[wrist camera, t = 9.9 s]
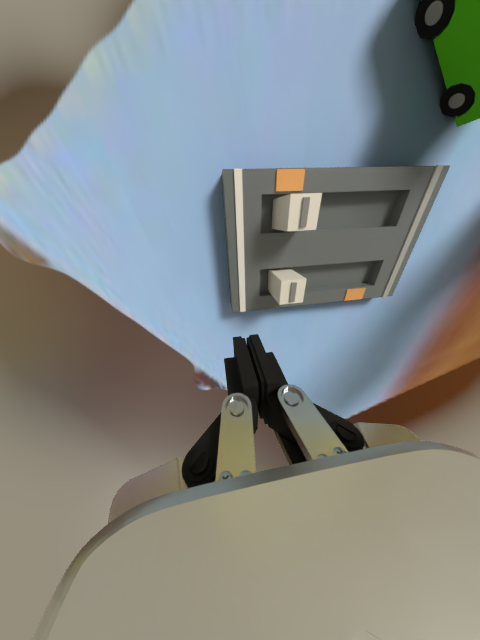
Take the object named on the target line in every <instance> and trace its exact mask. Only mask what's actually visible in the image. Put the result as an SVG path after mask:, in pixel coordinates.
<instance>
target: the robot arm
mask: <svg viewBox="0 0 480 640" xmlns="http://www.w3.org/2000/svg"><path fill="white" fill-rule="evenodd" d="M233 345H234V357H233V358H225V359H224V362H225V371H226V380H227V389H228V397H226V398H225V400H224V401H223V404H222V412H221V413H220V415H219V416H218V417H217V418H216V419H215V421H214V422H213V423H212V424H211V425H210V427H209V428H208V429H207V430H206V431H205V433H204V434H203V435H202V436H201V438H200V439H199V440H198V441H197V442H196V444H195V445H194V446H193V447H192V448H191V450H190V451H189V452H188V453H187V455H186V456H185V457H183V458H180V459H178V460H177V458H176V459H174V460H172V461H169V462H167V463H165V464H163V465H161V466H159V467H157V468H154V469H152V470H150V471H148V472H146V473H144V474H142V475H139V476H137V477H135V478H133V479H131V480H129V481H128V482H126V483H125V484H124V485H123V486H122V487H121V488H120V489H119V490H118V492H117V494H116V495H115V497H114V499H113V502H112V505H111V508H110V515H109V521H108V525H106V526H105V527H104V528H103V529H102V530H100V531H99V532H98V533H97V534H96V535H95V536H94V537H93V538H91V539H90V540H89V542H88V543H87V544H86V545H85V546H84V547H83V548H82V549H81V550H80V551H79V553H78V554H77V555H76V557H75V558H74V560H73V561H72V563H71V564H70V565H69V567H68V569H67V570H66V572H65V574H64V576H63V577H62V579H61V581H60V583H59V585H58V586H57V588H56V590H55V592H54V594H53V596H52V598H51V600H50V602H49V604H48V606H47V608H46V610H45V612H44V614H43V616H42V619H41V621H40V623H39V625H38V627H37V629H36V631H35V634H34V636H33V638H32V640H480V457H479V456H477V455H475V454H473V453H471V452H469V451H466V450H463V449H460V448H457V447H454V446H450V445H446V444H442V443H436V442H430V441H420V440H419V439H418V437H417V436H416V435H415V434H414V433H412V432H411V431H410V430H408V429H406V428H404V427H402V426H398V425H390V424H389V425H388V424H375V423H374V424H373V423H358V422H357V423H356V424H352V423H350V422H349V421H347V420H345V419H343V418H341V417H339V416H337V415H335V414H333V413H331V412H329V411H327V410H326V409H324V408H322V407H320V406H318V405H316V404H314V403H312V402H311V400H310V399H309V398H308V396H307V395H306V394H305V392H304V391H303V390H302V389H301V388H299V387H297V386H295V385H289V384H288V383H287V381H286V379H285V377H284V375H283V373H282V371H281V368H280V366H279V364H278V362H277V360H276V358H275V356H274V354H273V353H272V352H269V353H266V352H265V350H264V347H263V345H262V343H261V340H260V338H259V336H258V334H256V335H250V336H249V338H247V344H246V341H245V338H242V337H241V336H240V337H233ZM258 412H259V416H260V418H261V419H262V418H263V419H264V422H265V424H268V425H269V427H270V428H272V429H273V430H274V432H275V435H276V437H277V439H278V442H279V444H280V446H281V448H282V450H283V453H284V455H285V457H286V459H287V461H288V463H289V465H288V466H284V467H279V468H275V469H270V470H265V471H261V472H256V463H255V449H254V434H255V432H256V430H257V424H258Z"/></svg>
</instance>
